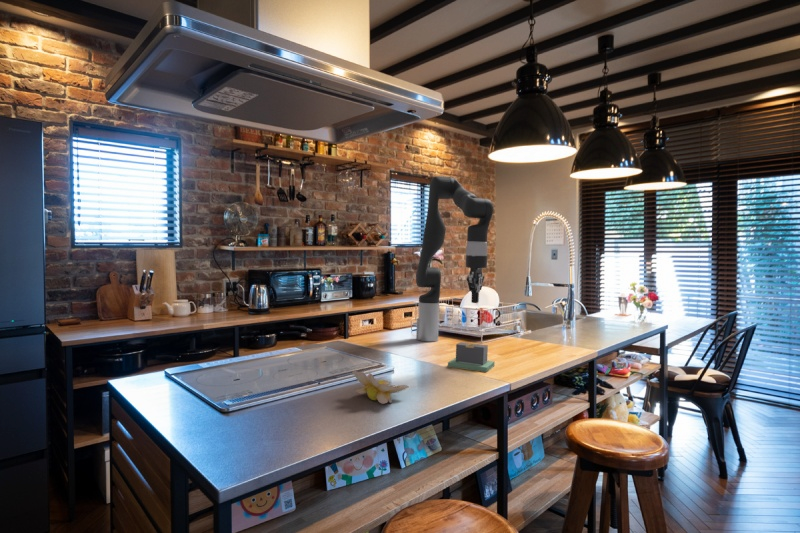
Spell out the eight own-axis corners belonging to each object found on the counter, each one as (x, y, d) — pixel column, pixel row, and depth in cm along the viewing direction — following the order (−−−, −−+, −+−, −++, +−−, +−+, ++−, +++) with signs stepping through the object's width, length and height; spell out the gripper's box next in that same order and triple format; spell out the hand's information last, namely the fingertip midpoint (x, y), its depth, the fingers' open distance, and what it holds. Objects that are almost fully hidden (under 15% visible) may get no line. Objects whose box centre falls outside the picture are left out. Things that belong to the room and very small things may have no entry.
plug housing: (455, 361, 159) (456, 344, 159) (460, 358, 164) (460, 342, 164) (483, 364, 155) (483, 347, 155) (487, 362, 160) (487, 345, 159)
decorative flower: (419, 395, 120) (411, 360, 118) (386, 414, 113) (378, 376, 111) (385, 385, 131) (377, 353, 130) (353, 402, 124) (345, 368, 123)
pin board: (447, 366, 158) (448, 351, 158) (457, 360, 167) (457, 346, 167) (486, 372, 152) (487, 355, 152) (494, 365, 161) (494, 350, 161)
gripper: (472, 254, 168) (470, 300, 169) (460, 254, 156) (458, 303, 157) (492, 254, 165) (490, 301, 165) (481, 254, 153) (479, 305, 154)
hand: (474, 302), depth 161 cm, fingers closed
